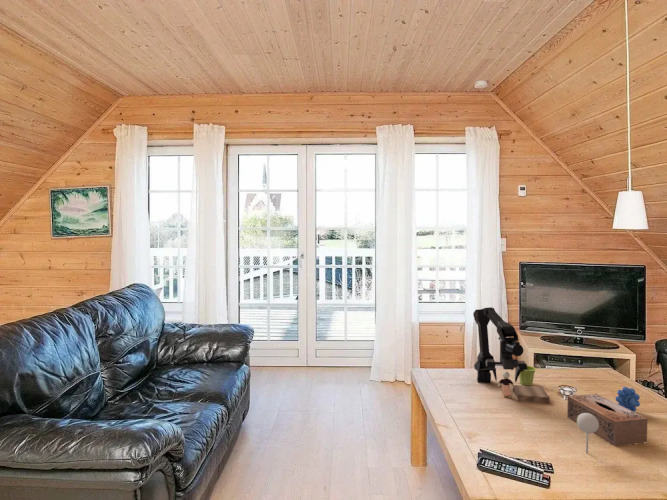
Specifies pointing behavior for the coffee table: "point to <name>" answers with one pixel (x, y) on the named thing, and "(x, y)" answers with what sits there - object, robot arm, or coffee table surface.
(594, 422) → the lollipop
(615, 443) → the tissue box cover
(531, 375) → the plant pot
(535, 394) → the walnut base
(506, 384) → the grandmother figurine
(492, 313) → the robot arm
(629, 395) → the blue flower
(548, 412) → the coffee table surface
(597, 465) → the coffee table surface
